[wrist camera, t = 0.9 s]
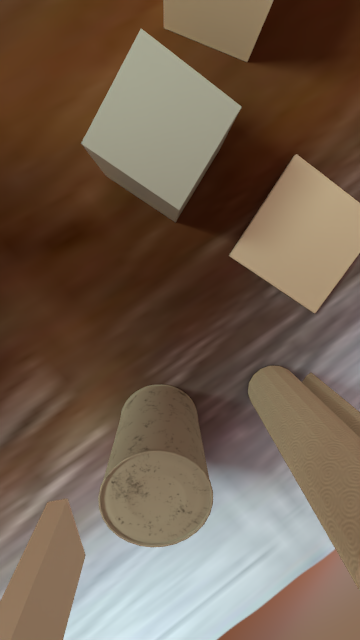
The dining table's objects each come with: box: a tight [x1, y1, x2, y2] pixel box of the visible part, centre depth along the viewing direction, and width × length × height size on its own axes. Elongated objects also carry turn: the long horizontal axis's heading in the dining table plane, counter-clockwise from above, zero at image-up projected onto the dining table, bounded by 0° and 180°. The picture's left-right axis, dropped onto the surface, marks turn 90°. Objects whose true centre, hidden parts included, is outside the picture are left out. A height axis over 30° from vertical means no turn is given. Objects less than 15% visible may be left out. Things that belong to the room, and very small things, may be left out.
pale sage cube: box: [81, 29, 241, 223], centre depth 25 cm, size 8×8×9 cm
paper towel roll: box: [248, 366, 360, 590], centre depth 26 cm, size 7×6×21 cm
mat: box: [229, 154, 360, 313], centre depth 32 cm, size 12×12×1 cm
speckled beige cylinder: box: [98, 384, 213, 547], centre depth 30 cm, size 10×10×12 cm
